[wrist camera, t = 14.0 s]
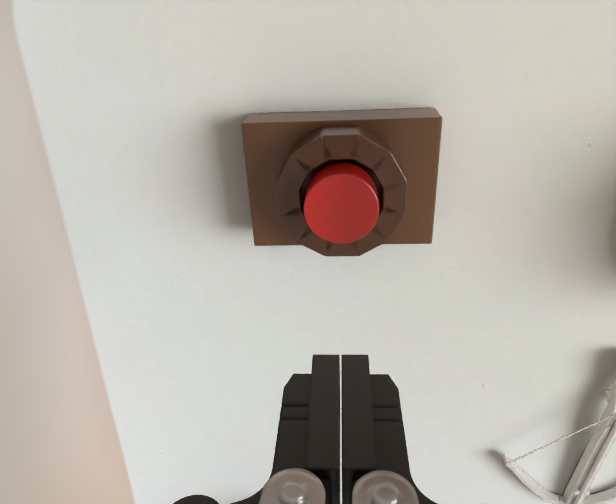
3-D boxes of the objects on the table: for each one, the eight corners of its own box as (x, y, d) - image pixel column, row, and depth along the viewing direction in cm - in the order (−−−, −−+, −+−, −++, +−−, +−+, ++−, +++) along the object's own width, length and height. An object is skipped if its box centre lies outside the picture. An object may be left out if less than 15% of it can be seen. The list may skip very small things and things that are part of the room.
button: (307, 229, 26) (305, 244, 24) (304, 163, 24) (301, 175, 23) (376, 228, 26) (378, 243, 24) (377, 161, 24) (380, 173, 22)
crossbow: (641, 495, 41) (655, 520, 39) (486, 486, 41) (493, 510, 39) (732, 353, 32) (754, 377, 30) (535, 344, 33) (546, 367, 31)
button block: (259, 229, 30) (249, 261, 26) (248, 113, 27) (234, 132, 23) (425, 227, 29) (437, 259, 26) (435, 107, 26) (449, 126, 22)
